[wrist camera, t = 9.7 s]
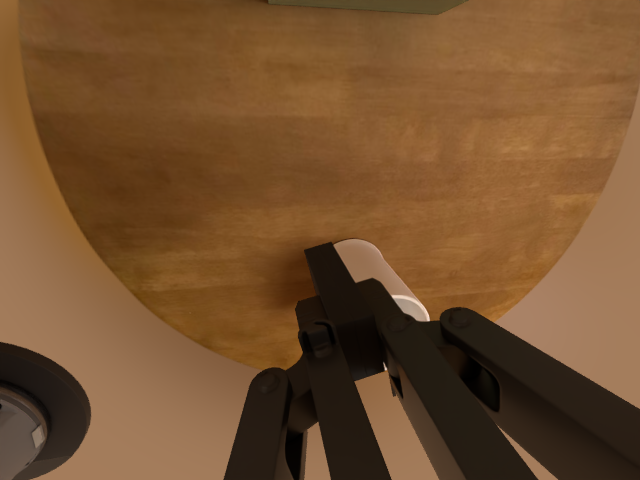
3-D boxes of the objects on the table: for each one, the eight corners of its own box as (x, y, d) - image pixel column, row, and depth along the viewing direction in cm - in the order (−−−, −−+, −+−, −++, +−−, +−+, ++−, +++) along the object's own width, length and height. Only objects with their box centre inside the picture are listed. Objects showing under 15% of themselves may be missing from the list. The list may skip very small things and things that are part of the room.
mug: (312, 326, 41) (334, 405, 30) (277, 277, 38) (287, 347, 27) (394, 279, 41) (445, 342, 30) (366, 225, 37) (413, 274, 27)
